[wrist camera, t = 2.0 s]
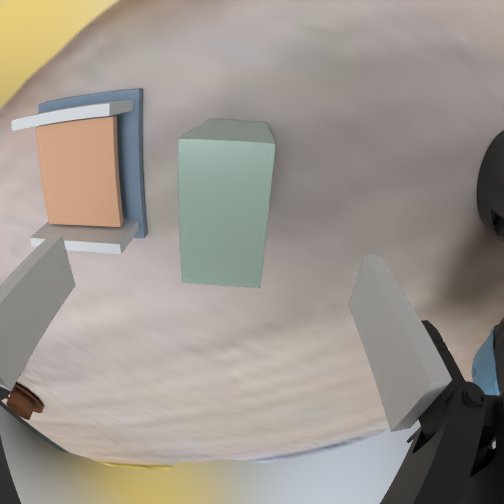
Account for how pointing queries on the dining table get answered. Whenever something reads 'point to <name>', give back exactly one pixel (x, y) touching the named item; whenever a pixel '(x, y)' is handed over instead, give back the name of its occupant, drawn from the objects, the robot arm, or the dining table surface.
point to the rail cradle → (129, 162)
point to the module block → (224, 201)
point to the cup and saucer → (23, 402)
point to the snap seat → (81, 172)
